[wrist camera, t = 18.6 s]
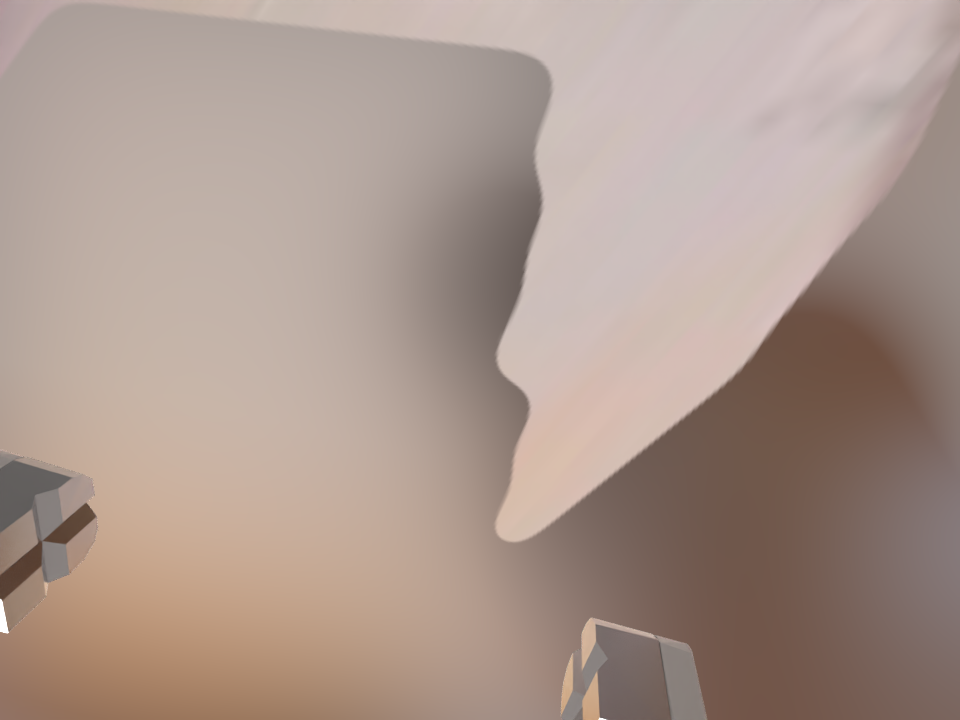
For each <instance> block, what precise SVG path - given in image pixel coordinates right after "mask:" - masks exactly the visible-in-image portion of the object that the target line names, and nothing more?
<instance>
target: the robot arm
mask: <svg viewBox="0 0 960 720" xmlns="http://www.w3.org/2000/svg"><path fill="white" fill-rule="evenodd" d="M94 495H95V494H94V487H93V481H92V478H90V477H88V476H85V475H83V474H80V473H77V472H74V471H70V470H67V469H64V468H61V467H58V466H55V465H51V464H48V463H45V462H42V461H39V460H35V459H32V458H29V457H24V456H21V455H18V454H14V453H11V452H8V451H5V450H1V449H0V631H3V632H7V633H8V632H10V630H12V629H13V628H14V627H15V626H16V625H17V624H18V623H19V622H20V621H21V620H22V619H23V618H24V617H25V616H26V615H27V614H28V613H30V612H31V611H32V610H33V609H34V608H35V607H36V606H37V605H38V604H39V603H40V602H41V601H42V600H43V599H44V598H45V597H46V593H47V587H48V583H49V582H51V581H54V580H57V579H59V578H61V577H64V576H67V575H69V574H70V573H71V572H72V571H73V570H74V569H75V568H76V567H77V566H78V565H79V564H80V563H81V562H82V561H83V560H84V559H85V557H86V555H87V554H88V552H89V550H90V549H91V547H92V545H93V544H94V541H95V537H96V533H97V528H98V527H97V516H96V515H95V513H94V512H93V511H92V509H91V508H90V507H89V505H88V504H87V502H88V501H89V500H90V499H91V498H92V497H93V496H94ZM561 718H562V719H563V720H707V717H706V712H705V707H704V703H703V699H702V694H701V689H700V685H699V680H698V676H697V671H696V667H695V662H694V658H693V653H692V650H691V649H690V647H689V646H688V644H686V643H682V642H678V641H675V640H671V639H667V638H664V637H660V636H657V635H654V636H653V635H652V634H650V633H646V632H643V631H639V630H635V629H631V628H628V627H624V626H621V625H617V624H613V623H609V622H606V621H602V620H598V619H594V618H590V620H588V622H587V623H586V625H585V627H584V629H583V631H582V648H581V649H579V650H577V651H575V652H573V654H572V656H571V659H570V661H569V664H568V666H567V670H566V674H565V678H564V683H563V689H562V698H561Z"/></svg>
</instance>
